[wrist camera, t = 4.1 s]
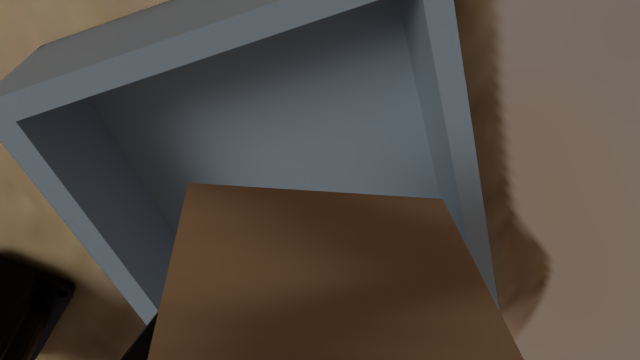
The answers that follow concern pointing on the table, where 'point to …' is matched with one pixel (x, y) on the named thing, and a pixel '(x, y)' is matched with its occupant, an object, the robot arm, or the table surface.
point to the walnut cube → (323, 280)
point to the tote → (242, 118)
